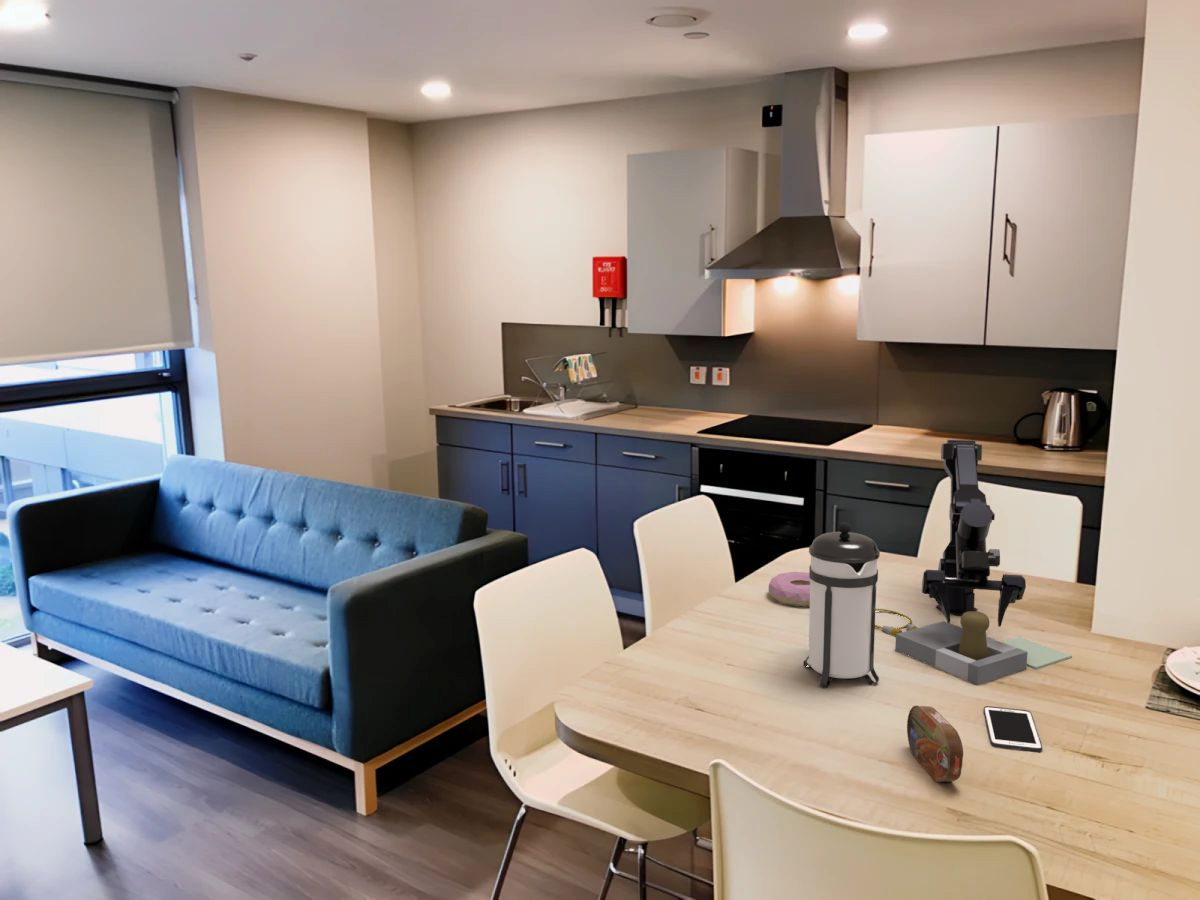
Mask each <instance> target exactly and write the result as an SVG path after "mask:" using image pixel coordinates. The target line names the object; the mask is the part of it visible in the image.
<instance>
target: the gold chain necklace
mask: <svg viewBox="0 0 1200 900" xmlns="http://www.w3.org/2000/svg"><path fill="white" fill-rule="evenodd" d="M875 611H879V612H878V613H882V612H888V613H887V614H891V613H893V614H892V615H895V614H898V615H900V616H899V617H901V616H903V617H906V618H908V619H909V620H910V621H909V620H908V621H909V622H908V623H907V624H904V625H903V626H900V627H893V626H887V625H883V626H880V625H876V624H875V627H877V628H876V629H879V628H881V629H880V630H881V631H883V632H884V633H886V634H888V633H889V634H888V635H890V634H892V635H891V636H893V635H895V636H894V637H896V634H898V633H901V632H903V631H902V629H900V628H903V629H904V627H905V628H906V629H907V631H909V630H913V629H916V628H918V627H917V625H915V624H912V623H913V620H912V618H910V617H909V616H907V615H906V614H903V613H900V612H898V611H895V610H890V609H883V608H875ZM898 615H897V616H898ZM903 617H902V618H903ZM896 628H897V629H896ZM898 628H899V629H898Z"/></svg>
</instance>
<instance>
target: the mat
mask: <svg viewBox="0 0 1200 900" xmlns="http://www.w3.org/2000/svg"><path fill="white" fill-rule="evenodd" d="M1001 642H1002V643H1005V644H1008V645H1010V646H1013V647H1016V648H1018V649H1021V650H1024V651H1027V667H1030V668H1032V669H1034V670H1038V669H1041V668H1045V667H1047V666H1050V665H1053V664H1056V663H1059V662H1062V661H1065V660H1068V659H1071V658H1073V655H1071V654H1069V653H1065V652H1063V651H1060V650H1057V649H1054V648H1052V647H1049V646H1046V645H1043V644H1041V643H1037V642H1035V641H1032V640H1030V639H1027V638H1025V637H1021V636H1017V637H1014V638H1011V639H1009V640H1004V641H1001Z"/></svg>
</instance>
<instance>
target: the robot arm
mask: <svg viewBox="0 0 1200 900" xmlns="http://www.w3.org/2000/svg"><path fill="white" fill-rule="evenodd" d="M940 448H941V449H940V460H943V469H944V471H945V472H946V474H947V476H948V477H949V479H950V504H949V513H948V514H949V515H948V516H949V521H950V523H949V527H950V529H949V530H950V531H949V542H948V544H947V546H946V547H945V549H944V551H943V552H942V557H941V558H940V559H939V563H938V569H925V571H923V573H922V580H921V581H922V582H921V593H922V594H924V595H928V597H929V598H930V599H934V600H935V602H936V603H937V605H935V608H936V609H939V610H941V611H942V614H943V616H944V618H945V620H946V622H948V623H950V624H951V614H953V615H956V616H962V615H963V614H964V613H965V612H968V611H977V612H978V608H977V607H975V596H976V594H975V592H974V590H983V591H984V590H985V591H996V592H997V591H999V599H998V609H997V624H998V625H997V626H998V627H999V628H1001V626H1002V624H1003V620H1004V617H1005V613H1006V611H1007V609H1008V607H1009V605H1010V604H1015V603H1016V602H1017V601H1020V600H1023V597H1024V595H1025V591H1026V587H1027V586H1026V578H1025V577H1024V576H1023V575H1020V574H1005V573H1003V574H1002V578H1001V580H993V579H989V578H988V577H990V574H991V569H990V568H991V567H994V568H995V567H996V568H997V567H999V566H1000V565H1001V554H1000V552H1001V551H1000V549H997V548H990V549H988V551H987V537H988V535H989V532H990V528H991V524H992V522H993V521H995V513H994V512H993V510H992V509H991V506H990V504H987V498H986V494H985V493H984V492H983V491H982V490H980V489H979V480H978V470H977V467H978V465H979V463H978V462H980V461H982V458H983V444H979V443H976V440H974V439H973V440H972V439H969V440H968V439H947V440H946V443H941V447H940Z"/></svg>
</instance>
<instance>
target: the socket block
mask: <svg viewBox="0 0 1200 900" xmlns="http://www.w3.org/2000/svg"><path fill="white" fill-rule="evenodd" d="M962 632H963V628H962V626H957V625H955V624H953V623H951V622H950V623H948V622H947V621H944V620H942V621H939V622H936V623H932V624H929V625H923V626H921V627H917V628H916V629H913V630H905V631H902V632H901V633H898V634H896V636H895V644H894V645H895V646H894V647H895V648H894V651H896V652H898V651H899V652H898V653H900V652H901V653H900V654H903V653H904V654H903V655H905V654H906V655H905V656H907V655H909V656H908V657H910V656H911V657H910V658H912V657H913V659H915V660H917V659H918V661H919V660H920V662H921V663H924V662H925V663H924V664H926V663H927V665H929V666H931V665H932V667H933V666H934V667H935V668H936V669H938V668H939V669H938V670H941V671H944V672H945V671H946V672H945V673H947V674H950V675H952V674H953V676H955V677H957V678H960V679H962V680H965V681H967V682H970V683H972V684H974V685H977V686H978V685H982V684H984V683H988V682H992V681H993V680H996V679H1000V678H1003V677H1005V676H1009V675H1012V674H1016V673H1019V672H1022V671H1024V670H1027V667H1028V666H1027V651H1024V650H1021V649H1018V648H1016V647H1013V646H1010V645H1008V644H1005V643H1002V642H1003V641H999V640H996V639H993V638H991V637H988V636H986V639H987V650H988V657H987V658H984V659H980V660H977V661H976V660H973V659H971V658H968V657H966V656H963V655H961V654H958V652H959V647H960V642H961V637H962Z"/></svg>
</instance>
